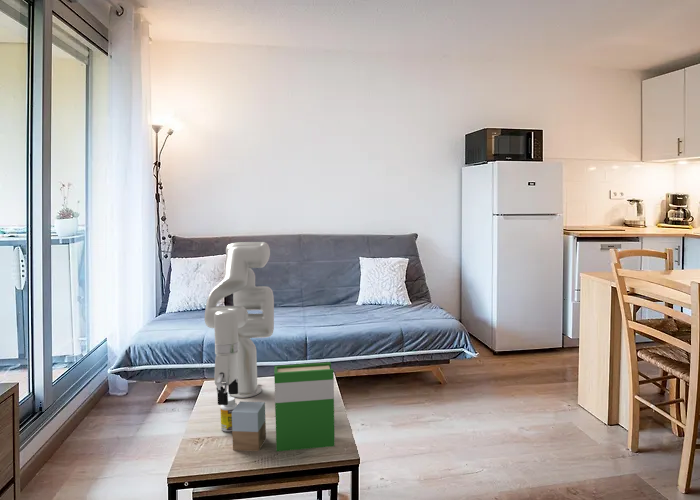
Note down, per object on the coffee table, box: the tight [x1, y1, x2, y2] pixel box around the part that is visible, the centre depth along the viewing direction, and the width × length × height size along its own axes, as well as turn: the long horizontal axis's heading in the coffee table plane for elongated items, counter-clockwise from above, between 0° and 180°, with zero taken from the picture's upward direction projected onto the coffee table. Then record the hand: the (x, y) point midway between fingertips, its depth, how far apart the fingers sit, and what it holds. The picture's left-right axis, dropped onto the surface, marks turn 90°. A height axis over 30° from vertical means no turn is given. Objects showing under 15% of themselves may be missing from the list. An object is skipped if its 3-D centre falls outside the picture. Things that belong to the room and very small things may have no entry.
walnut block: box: [231, 420, 267, 452], centre depth 150 cm, size 8×8×6 cm
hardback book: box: [273, 361, 336, 452], centre depth 150 cm, size 18×7×24 cm, turn 99°
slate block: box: [231, 401, 266, 432], centre depth 150 cm, size 8×8×6 cm
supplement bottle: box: [220, 396, 238, 433], centre depth 161 cm, size 6×6×10 cm
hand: (228, 399), depth 160 cm, fingers open, 9 cm apart
